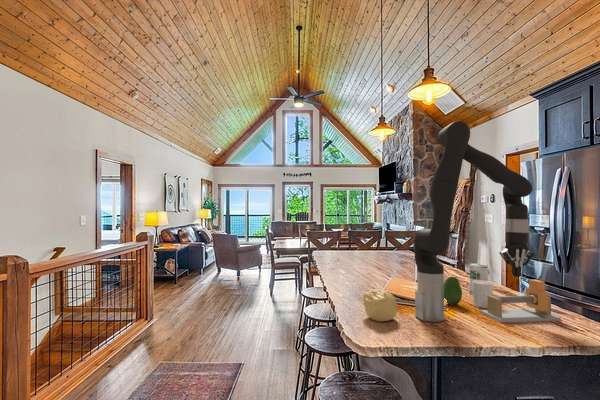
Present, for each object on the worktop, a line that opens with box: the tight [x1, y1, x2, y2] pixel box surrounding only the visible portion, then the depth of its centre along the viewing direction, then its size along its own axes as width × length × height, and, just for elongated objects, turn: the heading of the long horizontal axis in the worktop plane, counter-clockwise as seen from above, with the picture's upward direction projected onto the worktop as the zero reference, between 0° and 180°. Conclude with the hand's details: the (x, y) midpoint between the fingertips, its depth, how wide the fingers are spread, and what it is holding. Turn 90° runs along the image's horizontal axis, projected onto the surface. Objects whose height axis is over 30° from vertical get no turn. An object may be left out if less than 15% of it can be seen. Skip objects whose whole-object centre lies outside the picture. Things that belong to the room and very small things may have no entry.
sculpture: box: [362, 288, 398, 323], centre depth 121 cm, size 12×12×11 cm
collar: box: [525, 278, 549, 311], centre depth 125 cm, size 3×7×10 cm, turn 6°
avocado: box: [444, 276, 463, 306], centre depth 140 cm, size 8×8×12 cm
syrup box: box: [468, 262, 489, 295], centre depth 156 cm, size 6×6×14 cm
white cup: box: [472, 280, 494, 309], centre depth 138 cm, size 8×8×10 cm
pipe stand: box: [479, 295, 562, 323], centre depth 124 cm, size 24×11×8 cm, turn 96°
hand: (516, 276), depth 124 cm, fingers closed
